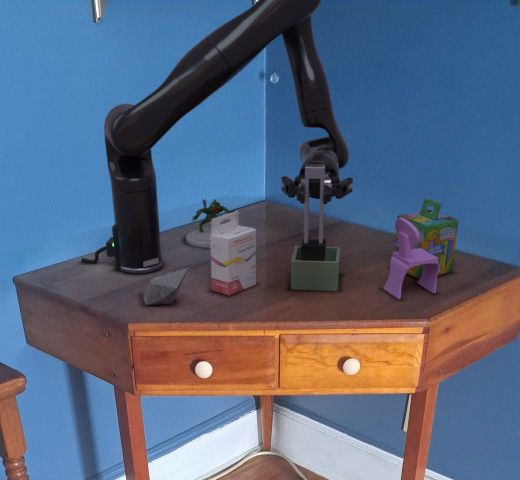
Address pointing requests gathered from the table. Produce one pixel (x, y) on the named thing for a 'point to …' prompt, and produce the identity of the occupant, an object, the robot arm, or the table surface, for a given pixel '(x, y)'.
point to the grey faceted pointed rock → (164, 288)
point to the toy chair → (410, 260)
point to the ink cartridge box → (232, 255)
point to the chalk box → (433, 236)
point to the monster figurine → (203, 234)
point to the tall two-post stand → (309, 247)
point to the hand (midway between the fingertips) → (313, 198)
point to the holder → (316, 271)
